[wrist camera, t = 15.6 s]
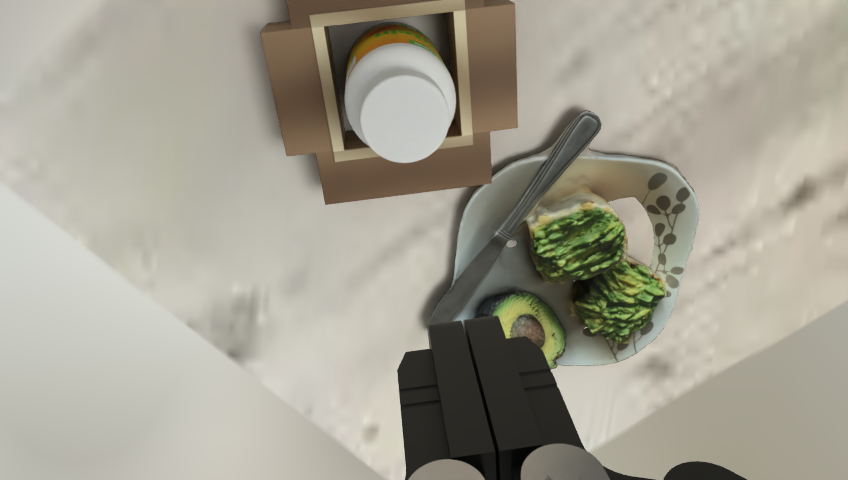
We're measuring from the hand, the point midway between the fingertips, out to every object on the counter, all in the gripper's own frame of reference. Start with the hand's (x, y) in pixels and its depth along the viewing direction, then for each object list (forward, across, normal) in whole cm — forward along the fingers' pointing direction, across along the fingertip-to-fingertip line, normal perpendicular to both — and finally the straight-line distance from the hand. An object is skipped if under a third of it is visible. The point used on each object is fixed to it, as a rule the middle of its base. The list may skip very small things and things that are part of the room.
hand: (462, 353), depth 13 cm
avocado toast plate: (+26, -10, +15) cm, 31 cm away
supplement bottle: (+26, 0, 0) cm, 26 cm away
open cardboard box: (+25, 0, 0) cm, 25 cm away
